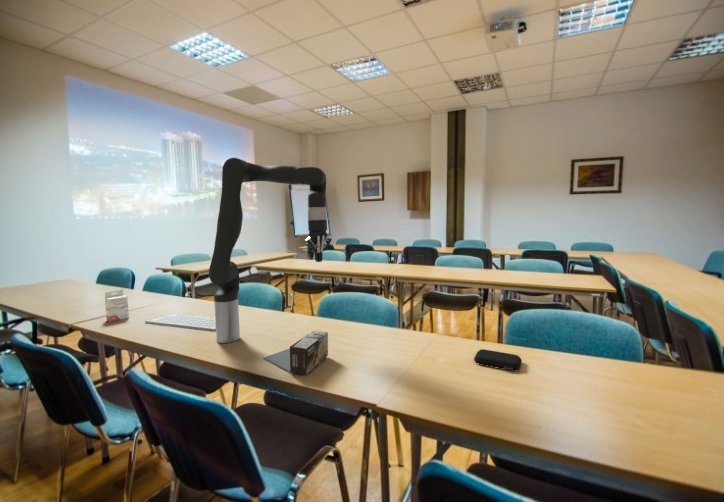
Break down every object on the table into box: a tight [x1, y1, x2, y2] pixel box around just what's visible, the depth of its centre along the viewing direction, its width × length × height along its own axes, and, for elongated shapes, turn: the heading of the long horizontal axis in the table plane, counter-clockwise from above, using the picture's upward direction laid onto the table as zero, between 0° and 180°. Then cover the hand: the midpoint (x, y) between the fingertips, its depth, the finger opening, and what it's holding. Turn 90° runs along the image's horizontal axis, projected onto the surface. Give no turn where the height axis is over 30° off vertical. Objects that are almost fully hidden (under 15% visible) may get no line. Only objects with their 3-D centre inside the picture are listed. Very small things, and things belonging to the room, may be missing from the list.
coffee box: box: [289, 330, 329, 375], centre depth 117 cm, size 9×6×16 cm
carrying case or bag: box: [473, 348, 522, 371], centre depth 117 cm, size 11×3×15 cm
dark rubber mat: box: [262, 347, 324, 375], centre depth 122 cm, size 18×13×1 cm
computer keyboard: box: [144, 313, 216, 332], centre depth 169 cm, size 43×19×2 cm, turn 70°
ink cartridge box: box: [104, 289, 130, 323], centre depth 174 cm, size 9×5×15 cm, turn 144°
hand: (318, 261), depth 138 cm, fingers closed
